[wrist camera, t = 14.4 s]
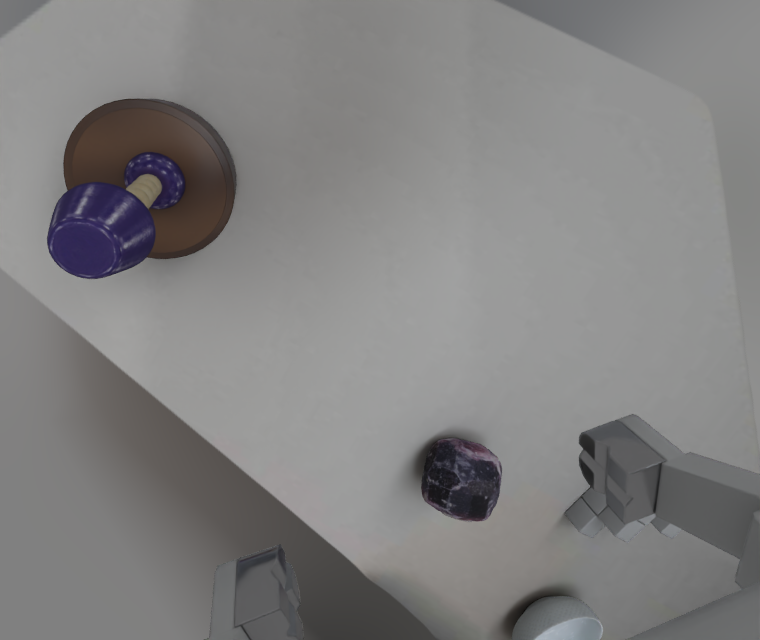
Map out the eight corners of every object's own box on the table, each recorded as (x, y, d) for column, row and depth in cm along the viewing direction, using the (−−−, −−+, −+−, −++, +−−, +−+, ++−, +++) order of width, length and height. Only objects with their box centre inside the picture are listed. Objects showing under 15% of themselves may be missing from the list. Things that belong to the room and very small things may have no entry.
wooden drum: (55, 119, 36) (26, 122, 31) (205, 83, 37) (198, 80, 33) (127, 258, 41) (112, 277, 37) (255, 222, 43) (255, 236, 38)
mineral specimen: (395, 475, 59) (443, 513, 51) (441, 413, 62) (494, 439, 54) (433, 511, 64) (484, 551, 55) (475, 451, 67) (529, 481, 58)
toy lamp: (194, 210, 36) (155, 284, 22) (134, 220, 35) (50, 304, 21) (175, 147, 34) (116, 183, 19) (109, 157, 33) (-2, 201, 19)
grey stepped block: (564, 512, 75) (595, 554, 68) (615, 462, 73) (653, 500, 66) (602, 531, 80) (635, 572, 74) (651, 485, 78) (690, 523, 71)
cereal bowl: (506, 593, 81) (526, 633, 75) (586, 570, 85) (612, 607, 79) (497, 646, 89) (515, 687, 83) (571, 624, 92) (593, 661, 86)
